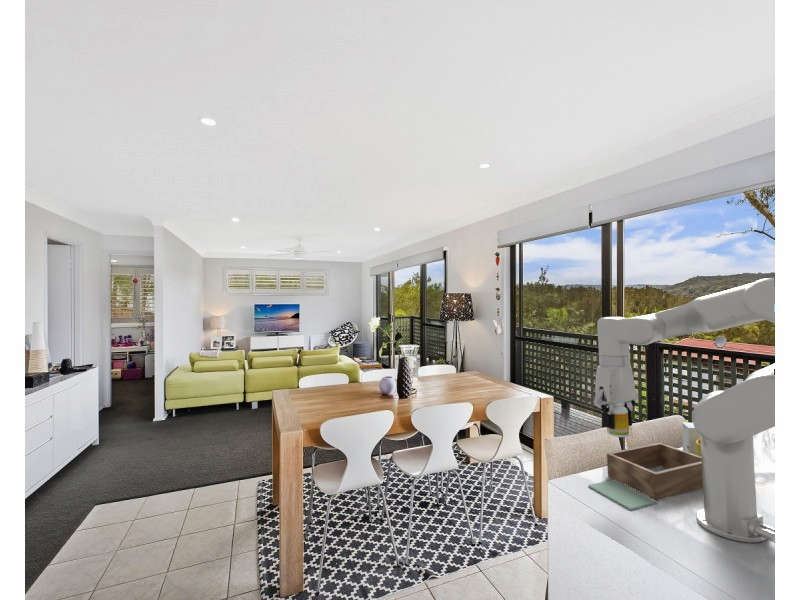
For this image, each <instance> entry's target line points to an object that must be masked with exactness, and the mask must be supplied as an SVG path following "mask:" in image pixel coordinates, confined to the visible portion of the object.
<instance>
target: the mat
mask: <svg viewBox="0 0 800 600" xmlns="http://www.w3.org/2000/svg"><path fill="white" fill-rule="evenodd" d="M587 485H588V484H587ZM588 488H589V489H592V490H593V491H594V492H597V493H599V494H600V495H602V496H604V497H605V498H608V499H610V500H611V501H613V502H615V503H617V504H619V505H620V506H622V507H623V508H626V509H627V510H629V511H633V510H638V509H641V508H645V507H649V506H652V505H656V504H657V502H658V501H657V500H655V499H653V498H651V497H649V496H647V495H645V494H643V493H641V492H639V491H637V490H635V489H633V488H631V487H629V486H627V485H625V484H623V483H621V482H619V481H617V480H615V479H609V480H604V481H599V482H595V483H592V484H589V485H588Z"/></svg>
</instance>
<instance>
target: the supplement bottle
mask: <svg viewBox="0 0 800 600" xmlns="http://www.w3.org/2000/svg"><path fill="white" fill-rule="evenodd" d="M624 404H625V403H624V402H620V403H615V404H614V406H613V411H612V414H614V422H615V428H614V429H610V428H607V427H606V433H607V434H608V435H609V436H611V437H616V438H627V437H629V436H630V429H629V428H630V426H629V424H628V410H627V409H626V408H625V407H624ZM608 406H609V405H607V406H606V407H607V408H608Z"/></svg>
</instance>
